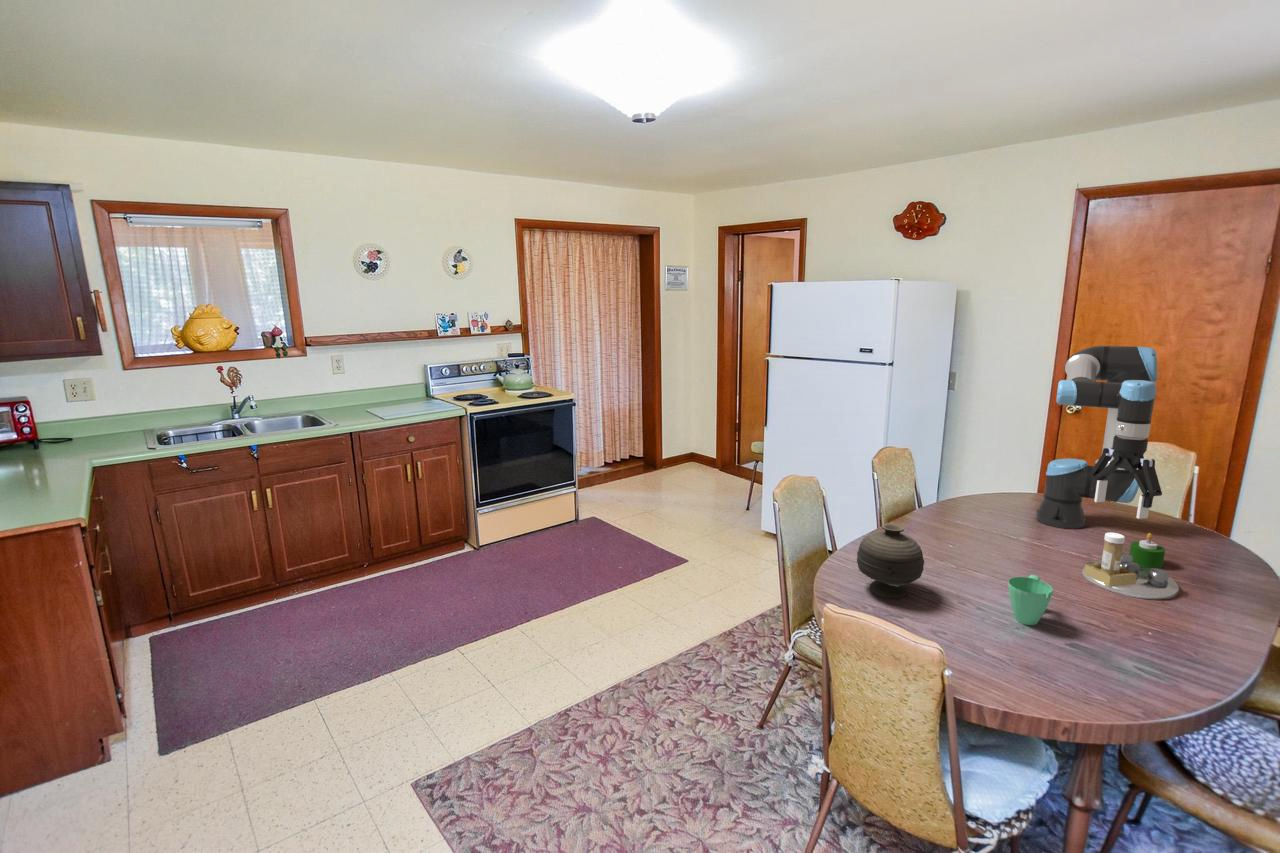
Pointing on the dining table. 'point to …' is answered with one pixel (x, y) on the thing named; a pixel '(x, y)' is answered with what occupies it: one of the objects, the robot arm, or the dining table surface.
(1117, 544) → the sprinkles bottle
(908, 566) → the pot
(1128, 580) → the carrier
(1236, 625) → the dining table surface
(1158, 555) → the candle
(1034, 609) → the mug
